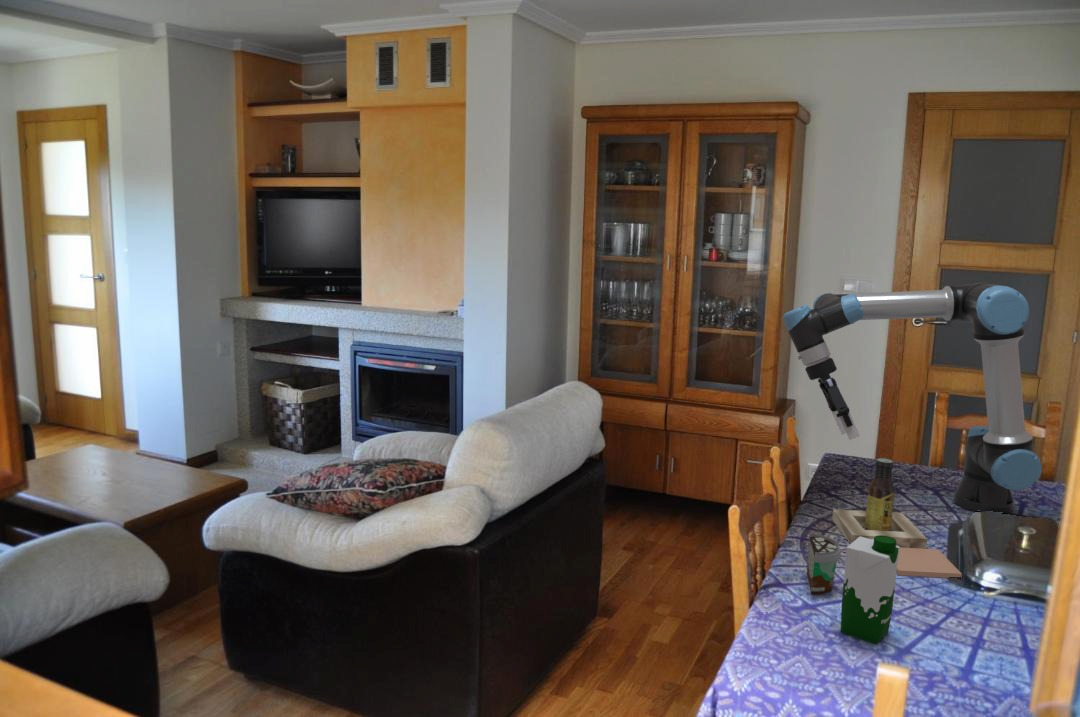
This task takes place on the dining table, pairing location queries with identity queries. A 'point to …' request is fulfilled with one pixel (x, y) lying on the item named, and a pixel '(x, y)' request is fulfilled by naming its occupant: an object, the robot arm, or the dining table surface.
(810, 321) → the robot arm
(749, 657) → the dining table surface
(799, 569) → the dining table surface
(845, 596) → the milk carton
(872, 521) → the sauce bottle
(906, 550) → the terracotta tile
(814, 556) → the food container
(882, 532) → the bottle stand
